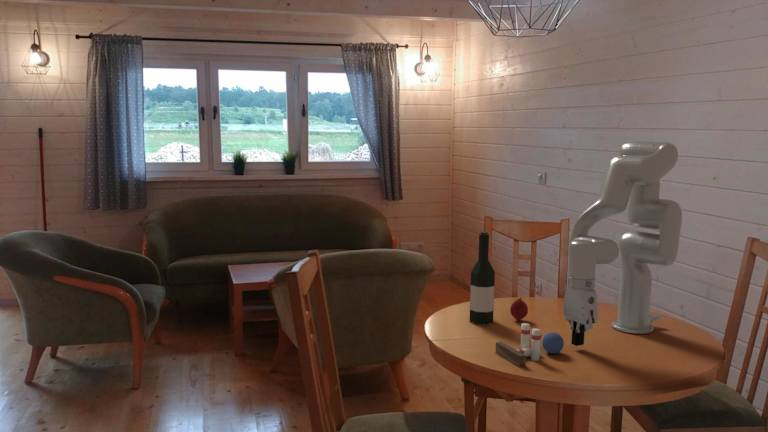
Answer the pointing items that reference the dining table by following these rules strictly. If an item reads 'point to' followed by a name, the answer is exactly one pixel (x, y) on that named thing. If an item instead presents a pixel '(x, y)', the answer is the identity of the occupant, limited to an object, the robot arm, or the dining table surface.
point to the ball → (552, 343)
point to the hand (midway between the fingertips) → (577, 344)
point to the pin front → (527, 351)
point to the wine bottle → (482, 285)
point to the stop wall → (511, 354)
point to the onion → (519, 309)
